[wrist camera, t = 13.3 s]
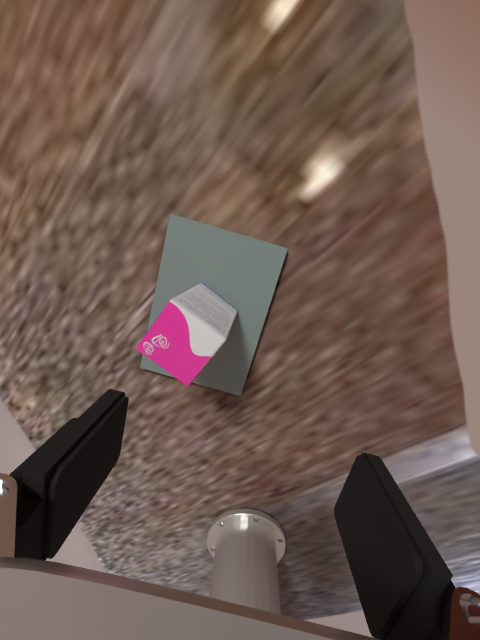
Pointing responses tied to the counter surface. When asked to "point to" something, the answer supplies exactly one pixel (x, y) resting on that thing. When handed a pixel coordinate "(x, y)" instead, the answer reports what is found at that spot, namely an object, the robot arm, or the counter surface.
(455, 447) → the counter surface
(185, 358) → the supplement box
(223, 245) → the rubber mat
